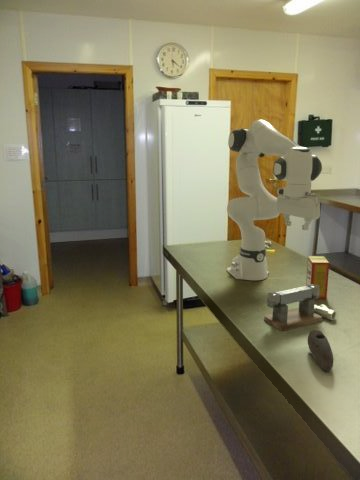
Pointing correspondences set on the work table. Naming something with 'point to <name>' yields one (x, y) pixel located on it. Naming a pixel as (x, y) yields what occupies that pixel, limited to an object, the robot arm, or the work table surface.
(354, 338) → the work table surface
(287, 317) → the peg stand
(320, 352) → the perforated stone tool
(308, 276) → the baking soda box
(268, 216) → the robot arm
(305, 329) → the work table surface
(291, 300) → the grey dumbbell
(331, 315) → the pipe fitting
